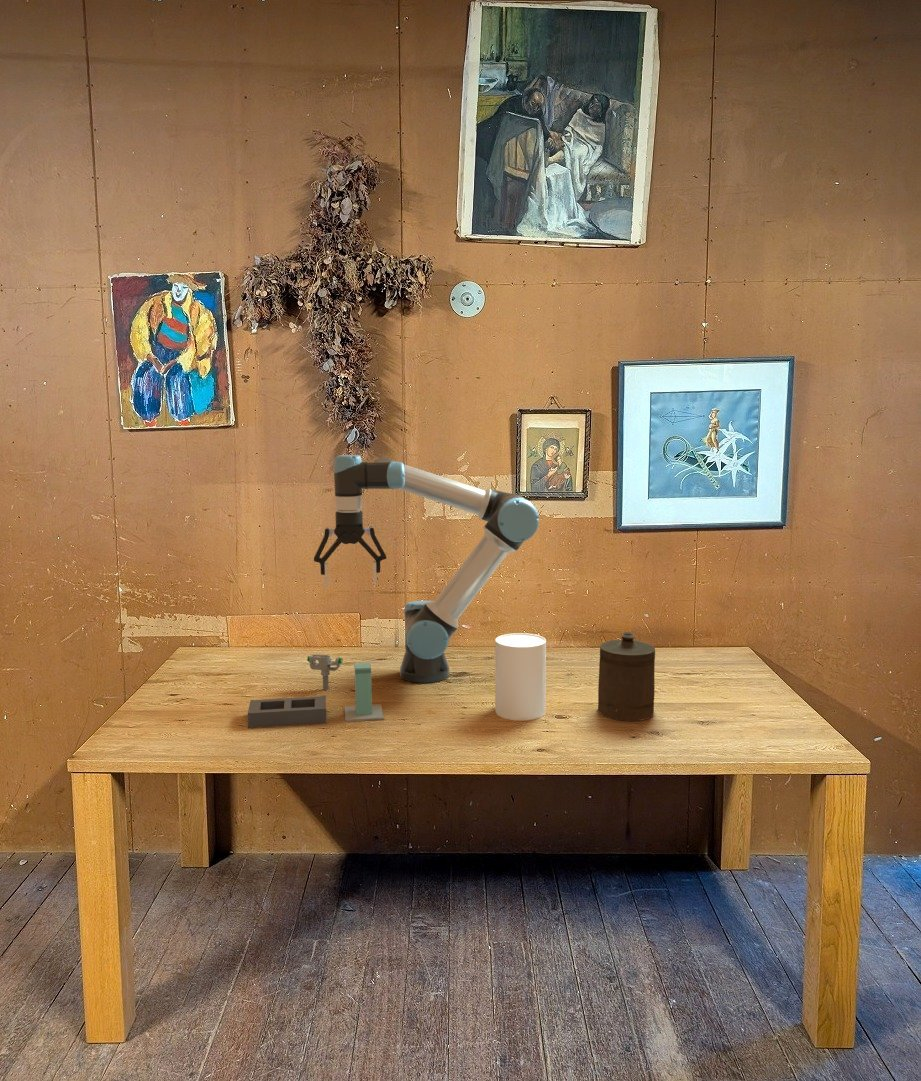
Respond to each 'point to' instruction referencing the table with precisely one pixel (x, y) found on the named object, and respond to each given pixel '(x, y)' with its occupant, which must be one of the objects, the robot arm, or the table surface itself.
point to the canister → (520, 676)
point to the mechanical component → (324, 666)
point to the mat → (352, 717)
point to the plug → (363, 689)
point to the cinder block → (287, 711)
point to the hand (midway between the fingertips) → (350, 585)
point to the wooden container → (626, 679)
